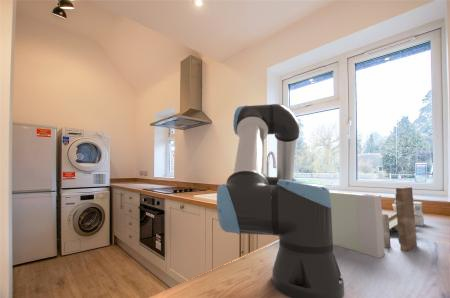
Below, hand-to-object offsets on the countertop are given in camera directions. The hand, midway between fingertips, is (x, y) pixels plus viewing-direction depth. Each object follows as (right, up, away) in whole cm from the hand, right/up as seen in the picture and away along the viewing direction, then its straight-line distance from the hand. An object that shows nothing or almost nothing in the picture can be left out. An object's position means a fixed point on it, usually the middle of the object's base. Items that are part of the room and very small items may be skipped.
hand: (314, 214), depth 86 cm
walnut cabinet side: (+25, -8, -10) cm, 29 cm away
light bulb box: (+57, -12, +23) cm, 62 cm away
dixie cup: (+48, -11, +16) cm, 52 cm away
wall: (+36, -10, +8) cm, 38 cm away
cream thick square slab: (+8, -8, -12) cm, 17 cm away
